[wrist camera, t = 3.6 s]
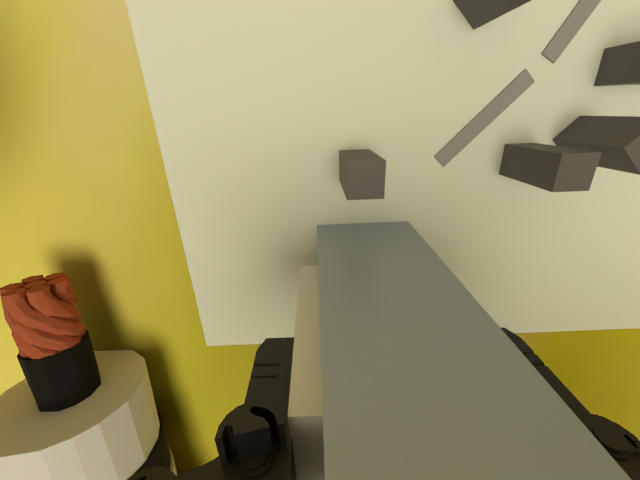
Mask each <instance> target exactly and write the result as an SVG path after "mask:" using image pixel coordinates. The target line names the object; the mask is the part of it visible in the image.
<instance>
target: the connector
mask: <svg viewBox="0 0 640 480" xmlns="http://www.w3.org/2000/svg"><path fill="white" fill-rule="evenodd" d="M317 245H318V277H319V310H320V342H321V374H322V407H323V439H324V471H325V480H631V478H630V477H629V476H628V475H627V474H626V473H625V471H624V470H623V469H622V468H621V467H620V466H619V465H618V463H617V462H616V461H615V460H614V459H613V458H612V456H611V455H610V454H609V453H608V452H607V451H606V450H605V448H604V447H603V446H602V445H601V444H600V443H599V441H598V440H597V439H596V438H595V437H594V436H593V434H592V433H591V432H590V431H589V430H588V429H587V428H586V426H585V425H584V424H583V423H582V422H581V421H580V419H579V418H578V417H577V416H576V415H575V414H574V413H573V411H572V410H571V409H570V408H569V407H568V406H567V404H566V403H565V402H564V401H563V400H562V399H561V397H560V396H559V395H558V394H557V393H556V392H555V391H554V389H553V388H552V387H551V386H550V385H549V384H548V382H547V381H546V380H545V379H544V378H543V377H542V376H541V374H540V373H539V372H538V371H537V370H536V369H535V367H534V366H533V365H532V364H531V363H530V362H529V360H528V359H527V358H526V357H525V356H524V355H523V354H522V352H521V351H520V350H519V349H518V348H517V347H516V345H515V344H514V343H513V342H512V341H511V340H510V339H509V337H508V336H507V335H506V334H505V333H504V332H503V330H502V329H501V328H500V327H499V326H498V325H497V323H496V322H495V321H494V320H493V319H492V318H491V317H490V315H489V314H488V313H487V312H486V311H485V310H484V308H483V307H482V306H481V305H480V304H479V303H478V302H477V300H476V299H475V298H474V297H473V296H472V295H471V293H470V292H469V291H468V290H467V289H466V288H465V286H464V285H463V284H462V283H461V282H460V281H459V280H458V278H457V277H456V276H455V275H454V274H453V273H452V271H451V270H450V269H449V268H448V267H447V266H446V265H445V263H444V262H443V261H442V260H441V259H440V258H439V256H438V255H437V254H436V253H435V252H434V251H433V249H432V248H431V247H430V246H429V245H428V244H427V243H426V241H425V240H424V239H423V238H422V237H421V236H420V234H419V233H418V232H417V231H416V230H415V229H414V228H413V226H412V225H411V224H410V223H409V222H408V221H403V222H378V223H352V224H327V225H317Z"/></svg>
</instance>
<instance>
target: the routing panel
mask: <svg viewBox="0 0 640 480" xmlns="http://www.w3.org/2000/svg"><path fill="white" fill-rule="evenodd" d="M125 1H126V6H127V10H128V14H129V18H130V23H131V27H132V31H133V35H134V40H135V44H136V48H137V52H138V56H139V61H140V65H141V69H142V73H143V78H144V82H145V86H146V90H147V95H148V99H149V103H150V107H151V112H152V116H153V120H154V124H155V129H156V133H157V137H158V141H159V146H160V150H161V154H162V158H163V163H164V167H165V171H166V175H167V179H168V184H169V188H170V192H171V196H172V201H173V205H174V209H175V213H176V218H177V222H178V226H179V230H180V235H181V239H182V243H183V247H184V252H185V256H186V260H187V264H188V269H189V273H190V277H191V281H192V286H193V290H194V294H195V298H196V302H197V307H198V311H199V315H200V319H201V324H202V328H203V332H204V336H205V341H206V345H207V346H221V345H245V344H262V343H263V342H264V340H265V339H266V338H285V337H294V334H295V322H296V310H297V298H298V287H299V275H300V266H313V265H318V245H317V225H327V224H352V223H378V222H403V221H408V222H409V223H410V224H411V225H412V226H413V228H414V229H415V230H416V231H417V232H418V233H419V234H420V236H421V237H422V238H423V239H424V240H425V241H426V243H427V244H428V245H429V246H430V247H431V248H432V249H433V251H434V252H435V253H436V254H437V255H438V256H439V258H440V259H441V260H442V261H443V262H444V263H445V265H446V266H447V267H448V268H449V269H450V270H451V271H452V273H453V274H454V275H455V276H456V277H457V278H458V280H459V281H460V282H461V283H462V284H463V285H464V286H465V288H466V289H467V290H468V291H469V292H470V293H471V295H472V296H473V297H474V298H475V299H476V300H477V302H478V303H479V304H480V305H481V306H482V307H483V308H484V310H485V311H486V312H487V313H488V314H489V315H490V317H491V318H492V319H493V320H494V321H495V322H496V323H497V325H498V326H499V327H500V328H503V327H505V328H506V329H508V330H509V331H511V332H512V333H535V332H559V331H584V330H608V329H632V328H640V0H125Z"/></svg>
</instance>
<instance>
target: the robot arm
mask: <svg viewBox="0 0 640 480" xmlns="http://www.w3.org/2000/svg"><path fill="white" fill-rule="evenodd" d="M501 329H502V330H503V332H504V333H505V334H506V335H507V336H508V337H509V339H510V340H511V341H512V342H513V343H514V344H515V345H516V347H517V348H518V349H519V350H520V351H521V352H522V354H523V355H524V356H525V357H526V358H527V359H528V360H529V362H530V363H531V364H532V365H533V366H534V367H535V369H536V370H537V371H538V372H539V373H540V374H541V376H542V377H543V378H544V379H545V380H546V381H547V382H548V384H549V385H550V386H551V387H552V388H553V389H554V391H555V392H556V393H557V394H558V395H559V396H560V397H561V399H562V400H563V401H564V402H565V403H566V404H567V406H568V407H569V408H570V409H571V410H572V411H573V413H574V414H575V415H576V416H577V417H578V418H579V419H580V421H581V422H582V423H583V424H584V425H585V426H586V428H587V429H588V430H589V431H590V432H591V433H592V434H593V436H594V437H595V438H596V439H597V440H598V441H599V443H600V444H601V445H602V446H603V447H604V448H605V450H606V451H607V452H608V453H609V454H610V455H611V456H612V458H613V459H614V460H615V461H616V462H617V463H618V465H619V466H620V467H621V468H622V469H623V470H624V471H625V473H626V474H627V475H628V476H629V477H630V478H631V480H640V441H639V440H638V439H637V438H636V437H635V436H634V435H633V434H631V433H630V432H629V431H627V430H626V429H624V428H623V427H622V426H620V425H619V424H617V423H615V422H612V421H610V420H608V419H606V418H604V417H601V416H598V415H594V414H591V413H590V412H588V411H587V409H586V408H585V407H584V406H583V405H582V404H581V403H580V402H579V401H578V400H577V399H576V397H575V396H574V395H573V394H572V393H571V392H570V391H569V390H568V389H567V388H566V387H565V385H564V384H563V383H562V382H561V381H560V380H559V379H558V378H557V377H556V376H555V375H554V373H553V372H552V371H551V370H550V369H549V368H548V367H547V366H545V365H544V363H543V361H542V360H541V359H540V358H539V357H538V356H537V355H536V354H535V355H534V352H533V351H532V349H531V348H530V347H529V346H528V345H527V344H526V343H525V342H524V341H523V340H522V339H521V338H520V337H518V336H517V335H515V334H514V333H512V332H511V331H509V330H508V329H506V328H505V327H503V328H501ZM215 442H216V446H217V450H218V453H219V456H218V457H217V458H215V459H214V460H212V461H210V462H208V463H206V464H204V465H202V466H199V467H197V468H194V469H192V470H189V471H186V472H184V473H181V474H179V475H175V474H174V473H173V472H172V471H171V470H170V469H169V468H165V467H161V466H156V467H151V468H146V469H143V470H141V471H140V472H138V473H136V474H134V475H132V476H130V477H129V478H128V479H127V480H325V471H324V439H323V407H322V374H321V342H320V310H319V277H318V265H313V266H300V275H299V287H298V298H297V310H296V322H295V334H294V337H285V338H266V339H265V340H264V342H263V343H262V344H261V346H260V347H259V348H258V350H257V352H256V356H255V361H254V367H253V369H252V373H251V380H250V382H249V386H248V390H247V395H246V399H245V403H244V404H243V405H240V406H238V407H236V408H235V409H234V410H232V411H231V412H230V413H229V414H227V415H226V417H225V418H224V420H223V421H222V422H221V424H220V425H219V427H218V430H217V434H216V437H215Z"/></svg>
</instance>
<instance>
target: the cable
mask: <svg viewBox="0 0 640 480" xmlns="http://www.w3.org/2000/svg"><path fill="white" fill-rule="evenodd" d="M0 295H1V300H2V305H3V310H4V316H5V319H6V321H7V323H8V325H9V327H10V329H11V330H12V336H13V338H14V341H15V343H16V345H17V347H18V348H19V354H18V356H17V358H18V361H19V363H20V365H21V368H22V370H23V373H24V375H25V377H26V378H25V379H24V380H22V381H21V382H19V383H18V384H16V385H15V386H13V387H11V388H10V389H8V390H7V391H5V392H4V393H3V394H2V395H1V396H0V480H127V479H128V478H129V477H130V476H132V475H134V474H136V473H138V472H140V471H141V470H143V469H146V468H151V467H156V466H161V467H165V468H169V469H170V470H171V471H172V472H173V473H174V474H175V475H177V471H176V467H175V462H174V458H173V454H172V450H171V449H170V447H169V445H168V443H167V439H166V434H165V430H164V426H163V422H162V418H161V415H160V413H159V412H158V410H157V409H156V405H155V401H154V396H153V392H152V388H151V383H150V379H149V375H148V370H147V366H146V362H145V358H143V357H142V356H140V355H139V354H138V353H136V352H135V351H133V350H102V351H94V350H93V346H92V343H91V339H90V335H89V332H88V331H87V330H86V329H85V328H84V326H83V325H82V324H80V322H81V318H82V315H81V313H80V312H79V310H78V309H77V308H76V307H75V305H76V302H77V297H76V295H75V293H74V291H73V289H72V287H71V285H70V280H69V278H67V277H66V273H55V274H51V275H48V276H46V277H45V278H44V277H43V275H39V276H31V277H28V278H26V279H23V280H22V283H14V284H9V285H7V286H4V287H2V288H0Z"/></svg>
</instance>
